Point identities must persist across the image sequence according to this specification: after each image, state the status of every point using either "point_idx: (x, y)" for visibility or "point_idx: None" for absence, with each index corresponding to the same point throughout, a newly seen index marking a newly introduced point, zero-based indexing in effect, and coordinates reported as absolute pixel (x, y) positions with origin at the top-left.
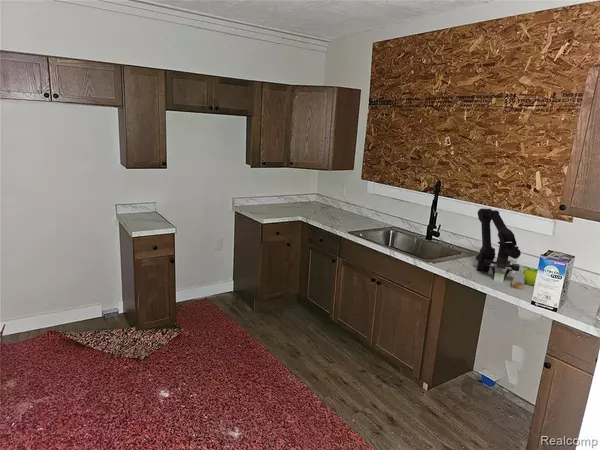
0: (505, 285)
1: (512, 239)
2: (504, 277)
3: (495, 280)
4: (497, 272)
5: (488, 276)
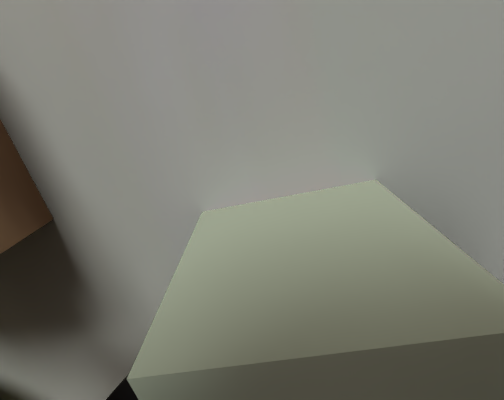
0: (83, 38)
1: None
2: None
3: (342, 186)
4: (435, 382)
5: None
